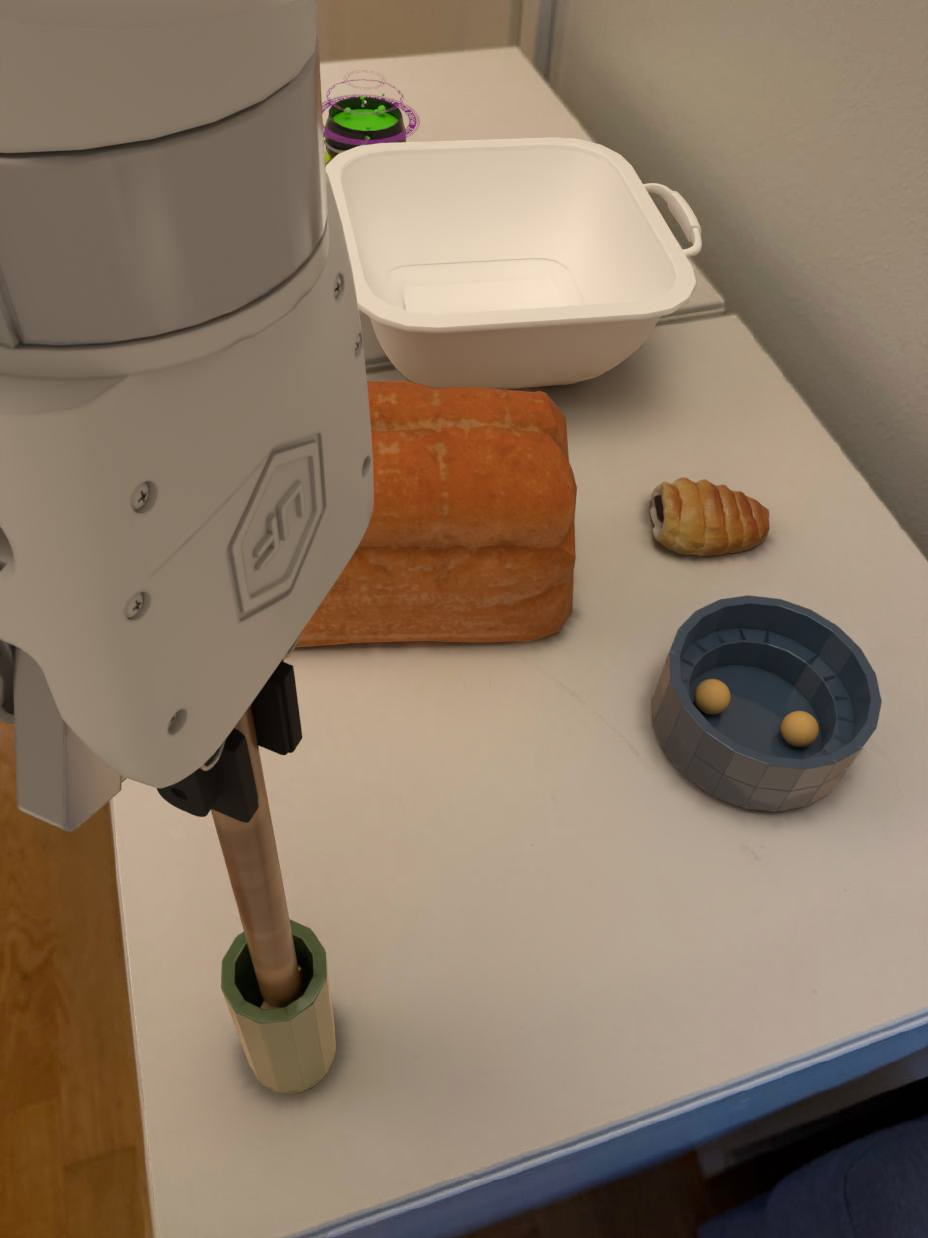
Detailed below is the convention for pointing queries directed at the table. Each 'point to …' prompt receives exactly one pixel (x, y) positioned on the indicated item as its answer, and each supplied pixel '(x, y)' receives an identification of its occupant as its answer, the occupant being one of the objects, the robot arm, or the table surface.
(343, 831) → the table surface
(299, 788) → the table surface
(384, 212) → the baking dish
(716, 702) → the chickpea
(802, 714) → the chickpea
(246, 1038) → the utensil pot
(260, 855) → the wooden dowel rod
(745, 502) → the pastry
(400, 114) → the toy cauldron
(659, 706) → the bowl
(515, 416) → the bread
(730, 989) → the table surface
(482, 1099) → the table surface
